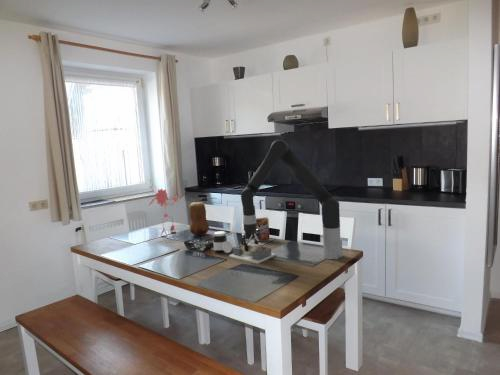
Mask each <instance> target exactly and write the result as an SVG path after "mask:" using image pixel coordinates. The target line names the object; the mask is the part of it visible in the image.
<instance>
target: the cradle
mask: <svg viewBox="0 0 500 375" xmlns="http://www.w3.org/2000/svg"><path fill="white" fill-rule="evenodd" d="M275 256H276V253H274V252H272V248H271V247H267V246H263V250H262V251H260V252H257V251H253V252H252V256H250V255H244V254H242V251H241V248H240V244H239V245H236V246H234V247H233V248H232V253H231V254H229V255H228V257H229V258H232V259H235V260H240V261H244V262H248V263H253V264H255V265H257V264H261V263H262V262H265V261H267V260H268V259H271V258H273V257H275Z"/></svg>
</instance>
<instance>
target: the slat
mask: <svg viewBox="0 0 500 375" xmlns="http://www.w3.org/2000/svg"><path fill="white" fill-rule="evenodd" d="M243 243H244V241H243ZM239 245H240V248H241V251H242V254H244V255H250V256H252V252H253V251H257V252H260V251H262V250H263V247H264V245H263V244H259V243H258V244H254V243H252V242H249V244H248V249H249V251H248V252H246V251H245V249H244V245H242V244H241V243H239Z"/></svg>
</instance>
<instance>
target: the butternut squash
mask: <svg viewBox="0 0 500 375" xmlns="http://www.w3.org/2000/svg"><path fill="white" fill-rule="evenodd" d="M188 209H189V210H188V211H189V218H190V224H189V229H190V233H191V234H193V235H194V236H199V237H203V236H205V235H206V234H207V233H208V232H209V231H210V224H209V222H208V220H207V209H206V205H205V203H204V202H202V201H199V202H197V201H195V202H191V203H190V204H189V207H188Z"/></svg>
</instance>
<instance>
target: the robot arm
mask: <svg viewBox="0 0 500 375" xmlns="http://www.w3.org/2000/svg"><path fill="white" fill-rule="evenodd" d="M279 160H281V161H282V162H283V163H284V164H285V165H286V166H287V168H288V169H289V171H290V173H291V175H292V176H293V177H294V178H295V180H296V181H297V182H298V183H299V184H300V186H301V187H303V189H305V190H306V191H308V192H309V193H310V194H311V195H312V196H314V197H315V199H317V201H318V202H319V203H320V205H321V220H322V238H323V240H322V241H323V258H325V259H327V260H339V259H341V258H342V257H343V239H341V220H340V219H341V218H340V214H341V213H340V202H339V200H338V198H336V197H335V196H334V195H333V194H332V193H331V192H329V190H327V189H326V187H324V185H323V184H322V182H321V181H320V180H319V178H318V177H317V176H316V175H315V173H314V172H313V171H312V170H311V169H310V168H309V166H307V165H306V164H305V163H304V162H303V161H302V160H301V159H300V158H299V157H298V156H296V154H295V153H294V151H293V150H292V149H291V148H290V146H289V144H288V143H287V142H286V141H285V140H282V139H277V140H274V141H273V142H272V143H271V145H270V148H269V150H268V152H267V154H266V156H265V158H264V160H263V161H262V163H261V164H260V165H259V166H258V168H257V169H256V171H255V173H253V175H252V177H251V178H250V180H249V182H248V183H247V185H246V187H244V189H242V190H241V193H240V199H241V200H240V201H241V205H242V217H243V218H242V219H243V221H242V224H243V231H244V234H243V233H242V234H241V235H240V241H241V242H240V244H242V245H244V249H245V251H246V252H248V251H249V249H248V244H249V243H251V240H254V242H253V244H259V242H260V241H259V239H261V237H260V230H258V229H257V224H256V218H257V215H256V206H255V204H254V197H255V196H256V194H257V192H258V191H259V189H260V188H261V187H262V186H263V184H264V182H265V181H266V180H267V178H268V176H269V175H270V173H271V171H272V169H273V168H274V166H275V165H276V163H277V162H278V161H279ZM243 242H244V243H243Z"/></svg>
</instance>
